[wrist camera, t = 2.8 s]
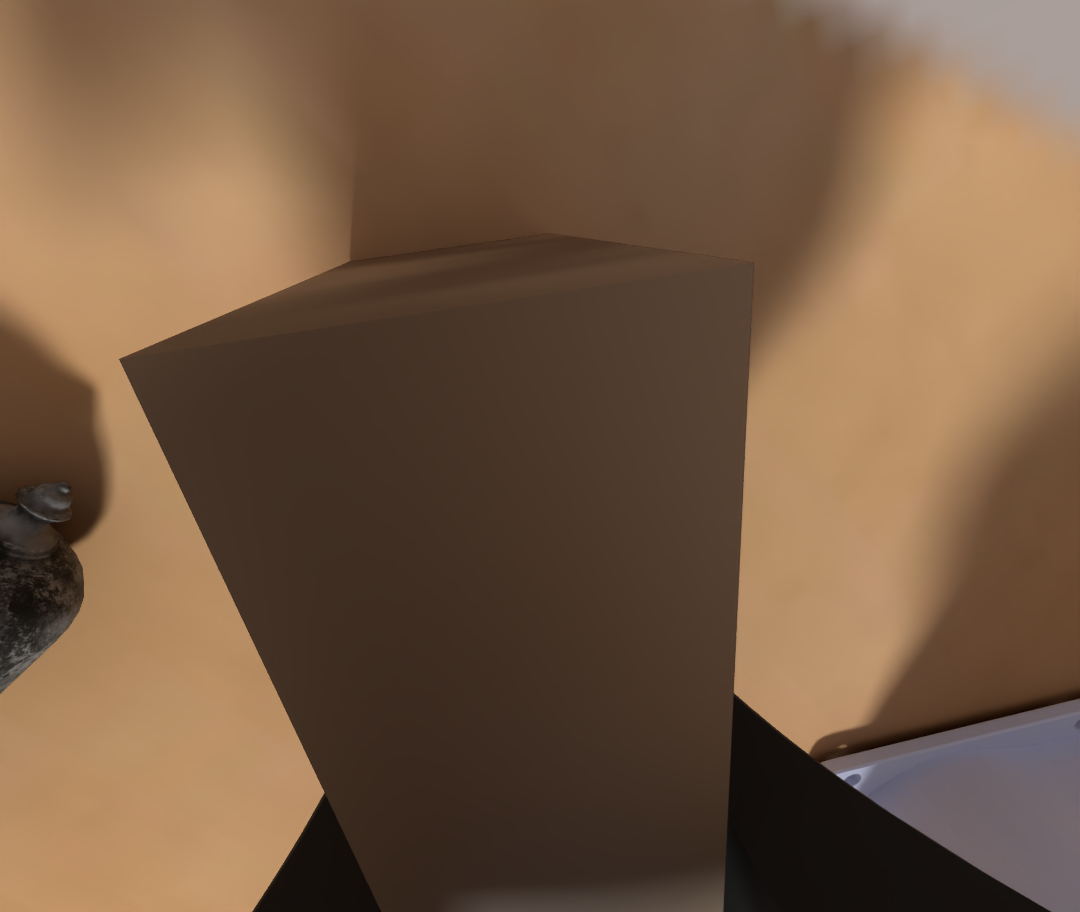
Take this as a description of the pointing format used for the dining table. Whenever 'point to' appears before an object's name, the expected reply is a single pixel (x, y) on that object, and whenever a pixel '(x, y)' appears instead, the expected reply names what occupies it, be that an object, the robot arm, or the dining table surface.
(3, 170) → the dining table surface
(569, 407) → the dark wooden brick
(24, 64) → the dining table surface
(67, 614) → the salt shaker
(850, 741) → the dining table surface
